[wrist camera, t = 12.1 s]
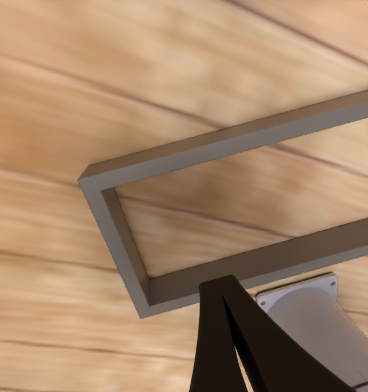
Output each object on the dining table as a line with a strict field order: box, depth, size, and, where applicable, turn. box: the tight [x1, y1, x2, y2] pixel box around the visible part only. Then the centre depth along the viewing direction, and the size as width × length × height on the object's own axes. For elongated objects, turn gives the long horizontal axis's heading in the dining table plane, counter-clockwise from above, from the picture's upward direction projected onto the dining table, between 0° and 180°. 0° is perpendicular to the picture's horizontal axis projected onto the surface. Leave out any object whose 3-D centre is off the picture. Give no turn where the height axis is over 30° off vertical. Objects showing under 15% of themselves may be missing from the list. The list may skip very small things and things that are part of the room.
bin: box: [78, 90, 368, 319], centre depth 19 cm, size 12×24×3 cm, turn 104°
